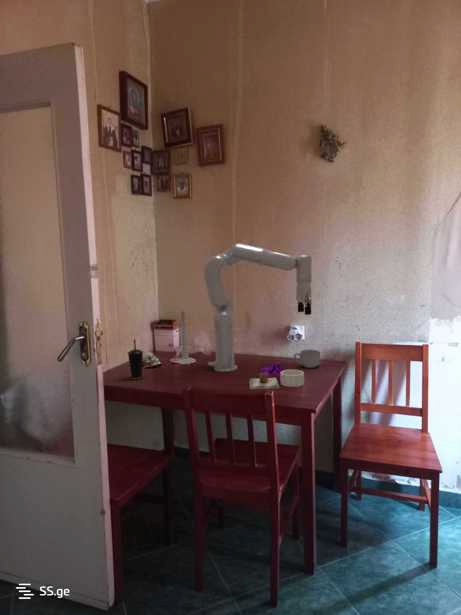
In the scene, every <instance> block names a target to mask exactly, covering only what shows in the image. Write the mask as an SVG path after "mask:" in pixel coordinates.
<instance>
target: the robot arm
mask: <svg viewBox="0 0 461 615" xmlns="http://www.w3.org/2000/svg"><path fill="white" fill-rule="evenodd" d="M241 261H242V262H247V263H250V264H255V265H258V266H259V265H260V266H264V267H269V268H274V269H279V270H281V271H291V270H294V269H295V270H296V271H295V272H296V273H295V274H296V276H295V278H296V281H295V282H296V289H295V290H296V293H295V300H296V302H297V312H298V313H304V315H305V316H308V315H310V316H311V315H312V285H311V283H312V278H313V277H312V256H311V255H309V254H299V255H298V254H296V255H293V254H284V253H280V252H275V251H272V250H269V249H267V248H264V247H260V246H254V245H250V244H245V243H241V242H236V243H235V242H234V243H233V244H232V245H231V247H230V248H228V249H225V251H223V252H221V253H220V254H219V253H218V254H215V255H212V256H211V257H210V258H209V259H208V261H206V263H205V264H204V267H203V268H204V269H203V277H204V282H205V285H206V291H207V294H208V297H209V302H210V304H211V306H213V307H214V310H215V314H214V317H213V328H214V340H215V341H214V342H215V343H214V344H215V360H214V361H208V362H207V366H209V367H213V370H214V371H215V372H219V373H225V372H226V373H227V372H229V373H230V372H233V371H234V372H235V371H236V370H238V365H237V364H235V349H234V348H235V346H234V329H233V328H234V326H233V322H234V320H235V310H234V307H233V303H232V299H231V295H230V292H229V291H228V290H227V289H225V287H224V284H223V279H222V276H221V272H222V271H225V270H226V269H229V268H230V267H232V266H233V265H235V264H237V263H238V262H241Z"/></svg>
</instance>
